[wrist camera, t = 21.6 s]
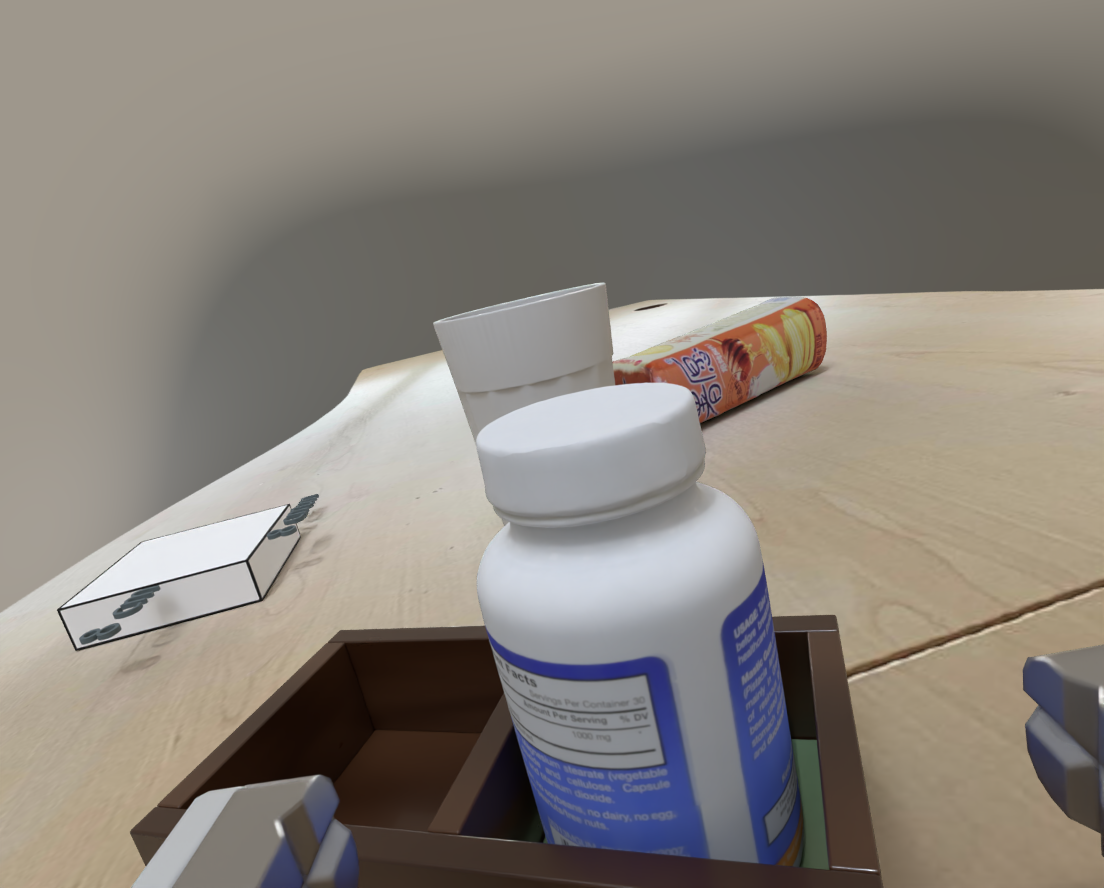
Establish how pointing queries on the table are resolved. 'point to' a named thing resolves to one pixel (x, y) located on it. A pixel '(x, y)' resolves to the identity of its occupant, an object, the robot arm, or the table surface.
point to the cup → (528, 351)
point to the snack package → (735, 355)
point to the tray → (510, 769)
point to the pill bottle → (635, 632)
